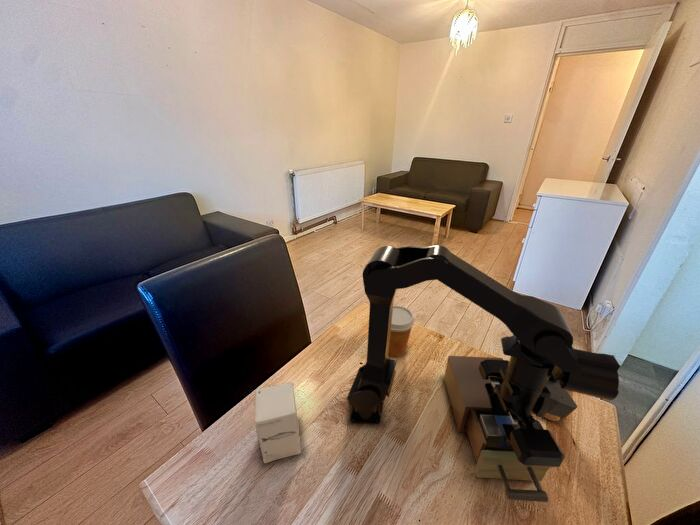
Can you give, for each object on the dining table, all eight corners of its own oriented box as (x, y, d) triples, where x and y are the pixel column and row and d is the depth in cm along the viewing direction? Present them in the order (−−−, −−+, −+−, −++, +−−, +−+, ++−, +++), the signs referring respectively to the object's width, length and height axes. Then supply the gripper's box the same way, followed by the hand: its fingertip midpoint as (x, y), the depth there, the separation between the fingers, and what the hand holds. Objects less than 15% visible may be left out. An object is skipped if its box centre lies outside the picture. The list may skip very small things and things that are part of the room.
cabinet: (520, 435, 59) (531, 410, 55) (458, 432, 60) (465, 406, 56) (494, 381, 71) (502, 357, 68) (443, 379, 72) (448, 355, 68)
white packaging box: (263, 465, 54) (252, 423, 48) (263, 428, 61) (254, 388, 55) (302, 455, 56) (296, 413, 50) (298, 420, 62) (292, 379, 57)
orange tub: (415, 344, 83) (420, 311, 78) (403, 366, 76) (407, 330, 70) (386, 333, 88) (388, 300, 82) (371, 352, 80) (373, 318, 75)
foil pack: (518, 428, 56) (523, 416, 54) (528, 450, 52) (534, 437, 50) (476, 425, 56) (480, 414, 54) (483, 447, 52) (488, 435, 51)
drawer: (557, 515, 46) (571, 495, 44) (486, 510, 47) (495, 490, 44) (510, 416, 62) (518, 396, 59) (457, 413, 63) (462, 394, 60)
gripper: (623, 434, 38) (580, 495, 45) (545, 338, 54) (523, 393, 61) (536, 429, 38) (507, 490, 45) (486, 335, 55) (470, 391, 62)
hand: (503, 434), depth 54 cm, fingers closed on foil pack, 4 cm apart
